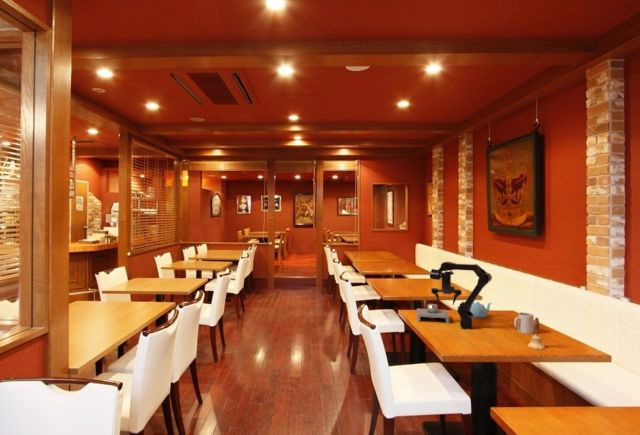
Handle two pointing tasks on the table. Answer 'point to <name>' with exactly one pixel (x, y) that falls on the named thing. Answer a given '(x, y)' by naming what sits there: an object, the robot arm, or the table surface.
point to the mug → (525, 323)
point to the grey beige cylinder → (432, 309)
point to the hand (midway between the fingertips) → (445, 304)
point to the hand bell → (536, 337)
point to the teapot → (479, 310)
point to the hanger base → (433, 314)
